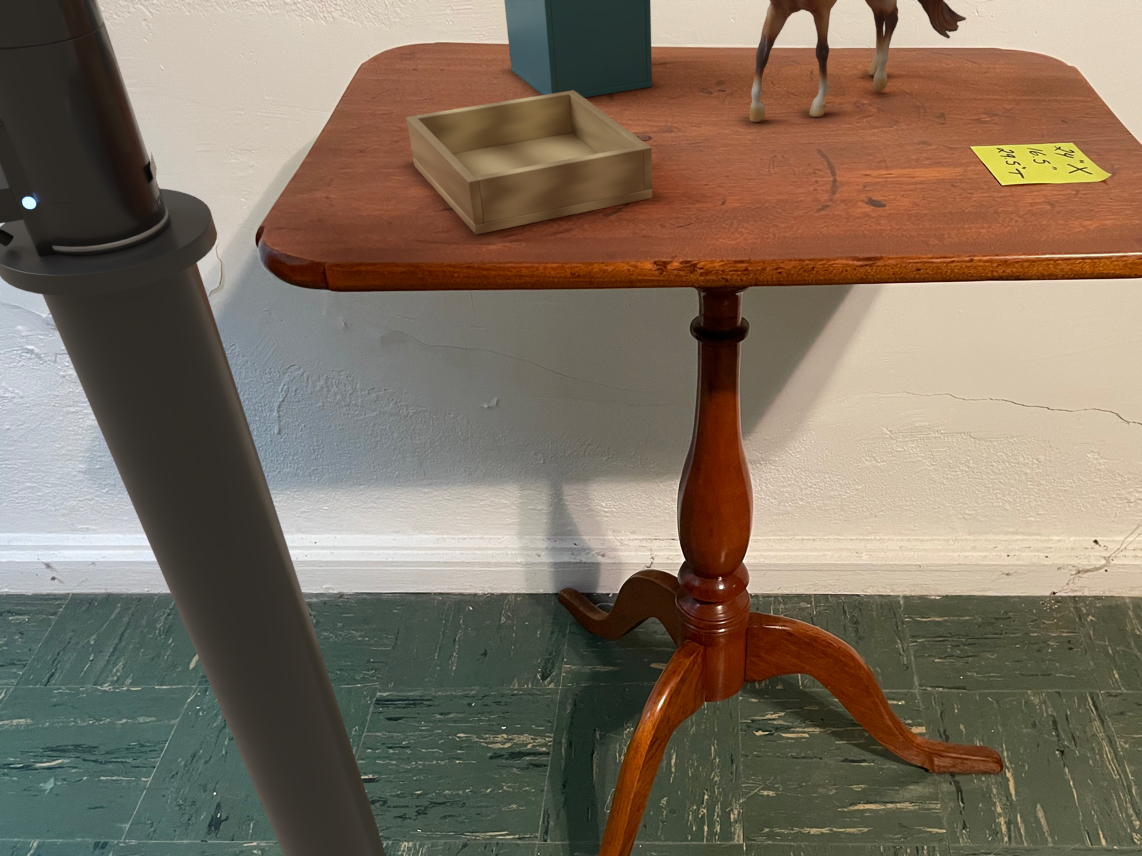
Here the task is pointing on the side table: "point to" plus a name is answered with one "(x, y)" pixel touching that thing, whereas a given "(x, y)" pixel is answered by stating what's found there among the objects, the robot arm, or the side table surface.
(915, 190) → the side table surface
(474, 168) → the box
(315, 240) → the side table surface
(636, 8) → the teal upright container
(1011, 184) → the side table surface
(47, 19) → the robot arm
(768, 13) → the horse figurine
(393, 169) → the side table surface
